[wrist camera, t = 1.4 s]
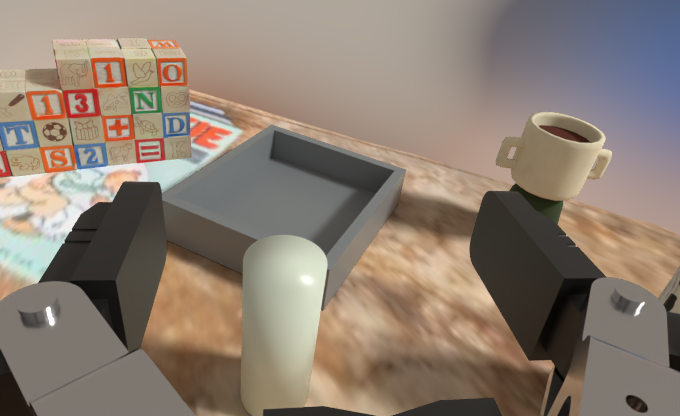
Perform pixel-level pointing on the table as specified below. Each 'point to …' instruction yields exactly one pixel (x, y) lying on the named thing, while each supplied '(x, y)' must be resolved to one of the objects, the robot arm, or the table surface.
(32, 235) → the table surface
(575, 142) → the character mug
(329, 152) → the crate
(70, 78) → the stack of blocks
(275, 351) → the canister
